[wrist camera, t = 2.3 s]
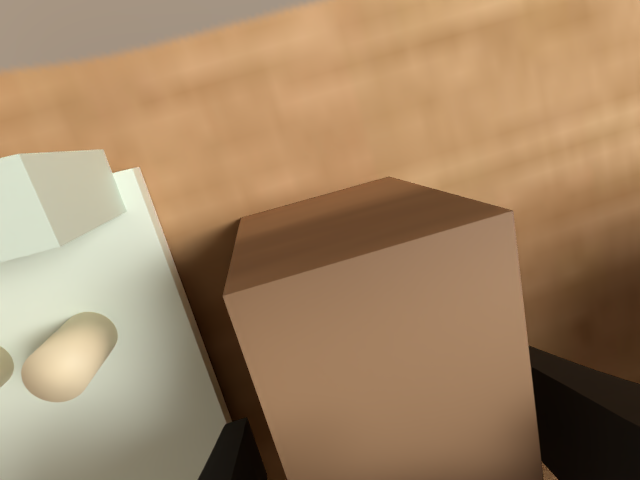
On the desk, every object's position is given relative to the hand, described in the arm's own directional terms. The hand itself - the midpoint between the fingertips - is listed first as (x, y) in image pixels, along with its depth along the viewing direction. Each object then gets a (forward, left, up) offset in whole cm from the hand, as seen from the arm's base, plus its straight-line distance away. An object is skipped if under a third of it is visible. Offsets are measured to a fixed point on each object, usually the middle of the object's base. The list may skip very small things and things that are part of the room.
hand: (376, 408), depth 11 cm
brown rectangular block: (0, 0, -2) cm, 2 cm away
